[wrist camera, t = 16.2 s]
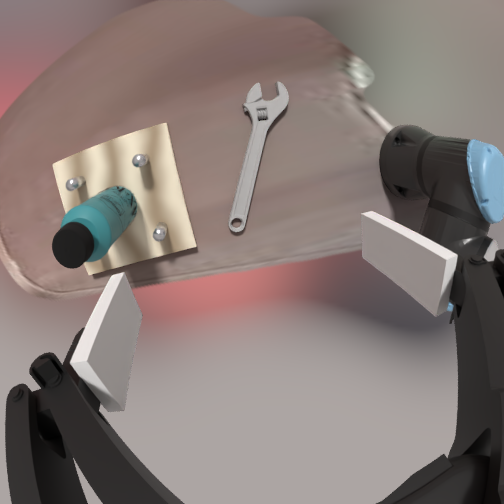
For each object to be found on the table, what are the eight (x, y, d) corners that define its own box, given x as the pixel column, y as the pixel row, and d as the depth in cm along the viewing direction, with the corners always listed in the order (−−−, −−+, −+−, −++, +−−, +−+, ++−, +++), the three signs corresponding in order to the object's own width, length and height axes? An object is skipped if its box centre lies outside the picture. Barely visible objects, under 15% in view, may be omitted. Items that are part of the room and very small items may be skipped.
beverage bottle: (131, 230, 41) (90, 294, 23) (96, 213, 38) (35, 266, 20) (147, 193, 39) (109, 234, 21) (110, 175, 37) (48, 203, 19)
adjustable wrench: (241, 231, 47) (243, 234, 45) (204, 221, 45) (205, 224, 43) (289, 90, 39) (293, 88, 37) (252, 76, 37) (254, 74, 35)
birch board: (167, 123, 37) (166, 122, 36) (196, 243, 45) (196, 246, 44) (56, 163, 35) (52, 164, 34) (91, 271, 43) (88, 275, 42)
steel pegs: (148, 151, 37) (142, 152, 33) (168, 231, 42) (166, 239, 38) (74, 177, 36) (64, 181, 32) (98, 251, 41) (90, 261, 37)
